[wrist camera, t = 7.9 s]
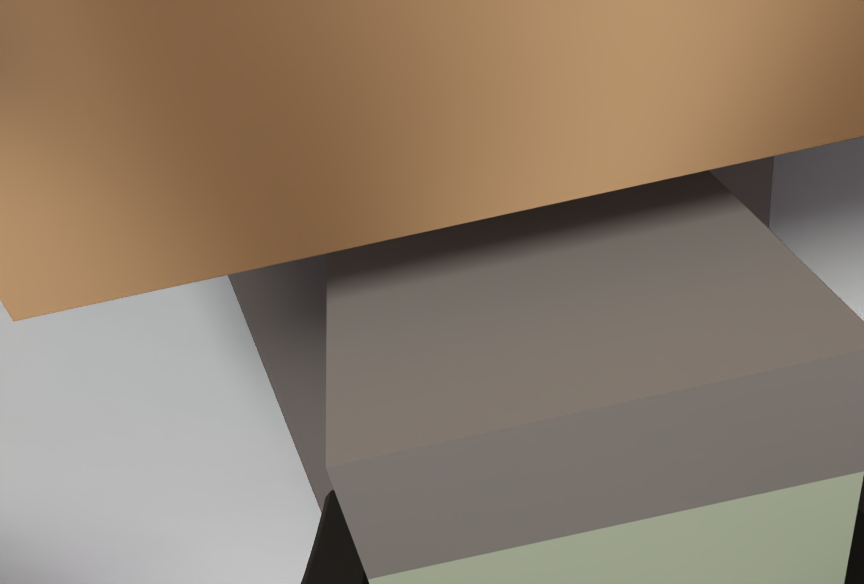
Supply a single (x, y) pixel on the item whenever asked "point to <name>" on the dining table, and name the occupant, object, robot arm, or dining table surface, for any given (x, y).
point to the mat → (307, 318)
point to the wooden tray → (373, 121)
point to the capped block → (595, 398)
